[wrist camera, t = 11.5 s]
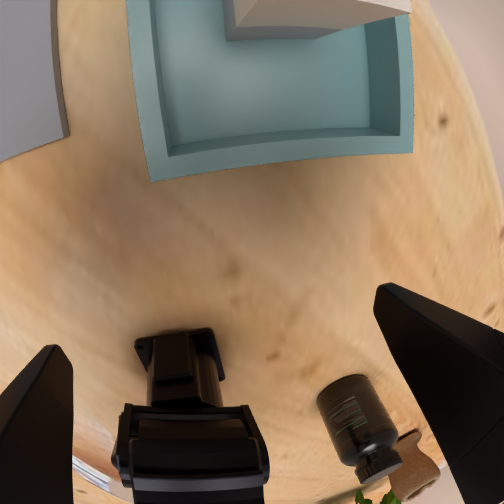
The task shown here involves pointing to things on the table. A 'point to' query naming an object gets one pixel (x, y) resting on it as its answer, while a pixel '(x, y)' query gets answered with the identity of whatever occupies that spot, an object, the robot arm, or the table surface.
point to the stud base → (29, 77)
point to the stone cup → (412, 469)
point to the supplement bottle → (360, 428)
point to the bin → (264, 91)
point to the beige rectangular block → (303, 17)
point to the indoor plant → (389, 500)
